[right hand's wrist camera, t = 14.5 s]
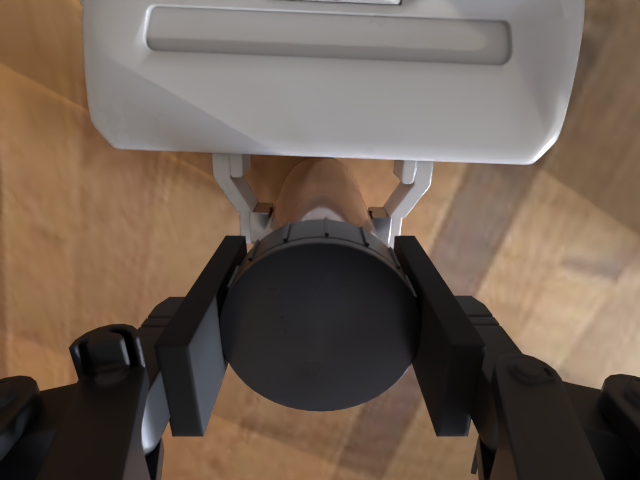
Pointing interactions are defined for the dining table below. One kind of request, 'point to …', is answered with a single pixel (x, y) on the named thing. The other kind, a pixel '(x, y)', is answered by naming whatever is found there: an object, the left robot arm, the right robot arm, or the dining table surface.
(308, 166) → the jar
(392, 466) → the dining table surface
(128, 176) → the dining table surface
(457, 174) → the dining table surface
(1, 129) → the dining table surface
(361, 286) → the lid
